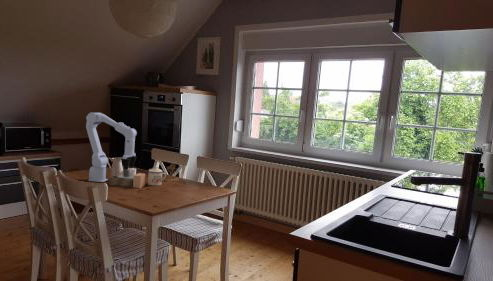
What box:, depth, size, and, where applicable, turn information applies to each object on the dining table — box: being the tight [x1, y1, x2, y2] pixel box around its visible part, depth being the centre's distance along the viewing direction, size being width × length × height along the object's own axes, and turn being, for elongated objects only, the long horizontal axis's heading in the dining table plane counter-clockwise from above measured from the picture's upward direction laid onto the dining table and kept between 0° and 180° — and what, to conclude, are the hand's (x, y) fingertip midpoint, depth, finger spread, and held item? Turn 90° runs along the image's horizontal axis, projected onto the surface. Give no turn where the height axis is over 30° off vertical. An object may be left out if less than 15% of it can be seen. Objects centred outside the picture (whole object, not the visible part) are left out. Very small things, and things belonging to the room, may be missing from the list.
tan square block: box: [132, 172, 146, 189], centre depth 217 cm, size 4×8×8 cm, turn 176°
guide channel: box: [108, 175, 133, 188], centre depth 218 cm, size 15×6×4 cm, turn 86°
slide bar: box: [117, 169, 134, 180], centre depth 217 cm, size 14×3×7 cm, turn 86°
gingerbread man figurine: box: [164, 163, 180, 183], centre depth 241 cm, size 9×4×12 cm, turn 129°
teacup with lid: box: [147, 166, 167, 187], centre depth 227 cm, size 12×9×12 cm
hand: (128, 168), depth 221 cm, fingers open, 7 cm apart
